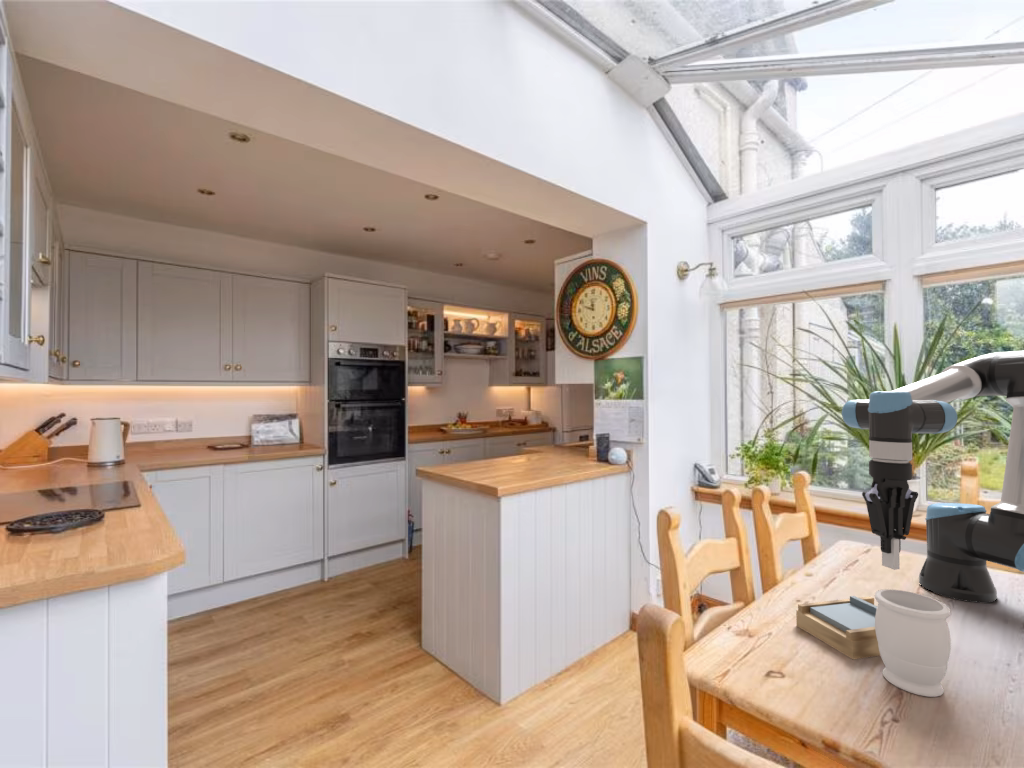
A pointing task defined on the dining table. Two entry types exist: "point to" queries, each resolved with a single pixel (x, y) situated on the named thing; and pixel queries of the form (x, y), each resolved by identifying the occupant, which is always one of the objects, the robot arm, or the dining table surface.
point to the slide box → (839, 631)
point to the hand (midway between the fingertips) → (890, 567)
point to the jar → (913, 640)
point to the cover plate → (848, 614)
